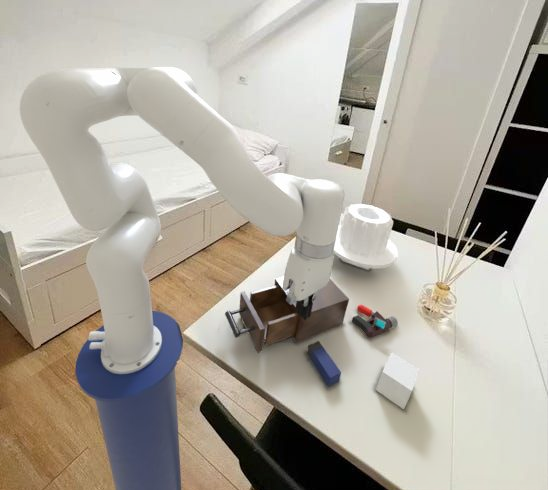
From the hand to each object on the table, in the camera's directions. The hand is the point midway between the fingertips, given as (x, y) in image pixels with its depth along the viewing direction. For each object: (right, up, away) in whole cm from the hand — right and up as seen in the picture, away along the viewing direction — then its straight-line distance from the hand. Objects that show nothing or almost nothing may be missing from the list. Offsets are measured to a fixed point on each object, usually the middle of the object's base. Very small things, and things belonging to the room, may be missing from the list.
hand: (302, 313), depth 63 cm
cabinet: (+3, -8, +17) cm, 19 cm away
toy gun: (+21, -10, +17) cm, 29 cm away
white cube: (+20, -17, +1) cm, 26 cm away
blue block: (+5, -14, +4) cm, 15 cm away
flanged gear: (+24, +1, +44) cm, 50 cm away
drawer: (-9, -8, +11) cm, 16 cm away
